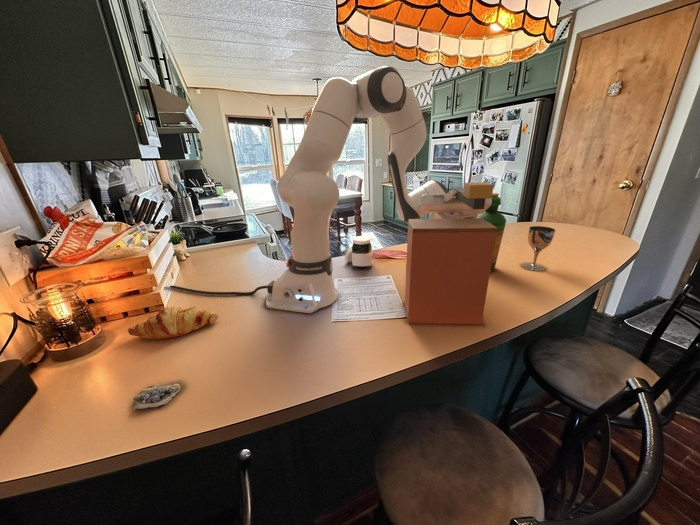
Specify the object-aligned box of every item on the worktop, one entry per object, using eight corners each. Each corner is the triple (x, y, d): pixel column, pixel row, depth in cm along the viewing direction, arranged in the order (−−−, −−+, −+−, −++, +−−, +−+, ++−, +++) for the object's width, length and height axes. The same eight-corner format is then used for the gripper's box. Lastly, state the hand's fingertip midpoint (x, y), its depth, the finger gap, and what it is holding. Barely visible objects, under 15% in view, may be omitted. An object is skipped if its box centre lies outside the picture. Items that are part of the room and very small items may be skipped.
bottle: (480, 275, 100) (492, 197, 90) (461, 264, 110) (470, 193, 100) (504, 271, 103) (519, 194, 93) (484, 261, 112) (495, 190, 102)
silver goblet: (544, 273, 100) (554, 233, 95) (519, 268, 105) (527, 230, 99) (546, 266, 106) (556, 227, 101) (522, 261, 111) (530, 225, 105)
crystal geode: (134, 394, 55) (131, 387, 54) (180, 376, 59) (177, 369, 58) (133, 419, 50) (129, 411, 49) (183, 397, 54) (181, 389, 53)
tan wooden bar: (467, 209, 64) (470, 185, 62) (446, 195, 83) (448, 176, 81) (490, 208, 64) (493, 184, 62) (463, 195, 83) (465, 176, 81)
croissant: (222, 325, 82) (218, 299, 83) (217, 328, 73) (213, 298, 73) (137, 343, 75) (134, 313, 76) (120, 348, 66) (116, 315, 66)
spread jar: (369, 271, 107) (369, 242, 103) (341, 269, 110) (340, 241, 105) (373, 260, 118) (373, 233, 114) (347, 259, 120) (346, 233, 116)
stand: (407, 322, 74) (412, 228, 65) (404, 303, 84) (408, 219, 74) (481, 324, 73) (497, 227, 63) (469, 304, 82) (482, 218, 72)
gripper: (416, 200, 92) (423, 182, 78) (480, 199, 90) (499, 180, 76) (416, 218, 91) (423, 204, 77) (481, 217, 89) (500, 202, 75)
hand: (461, 192), depth 77 cm, fingers closed on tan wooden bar, 2 cm apart
